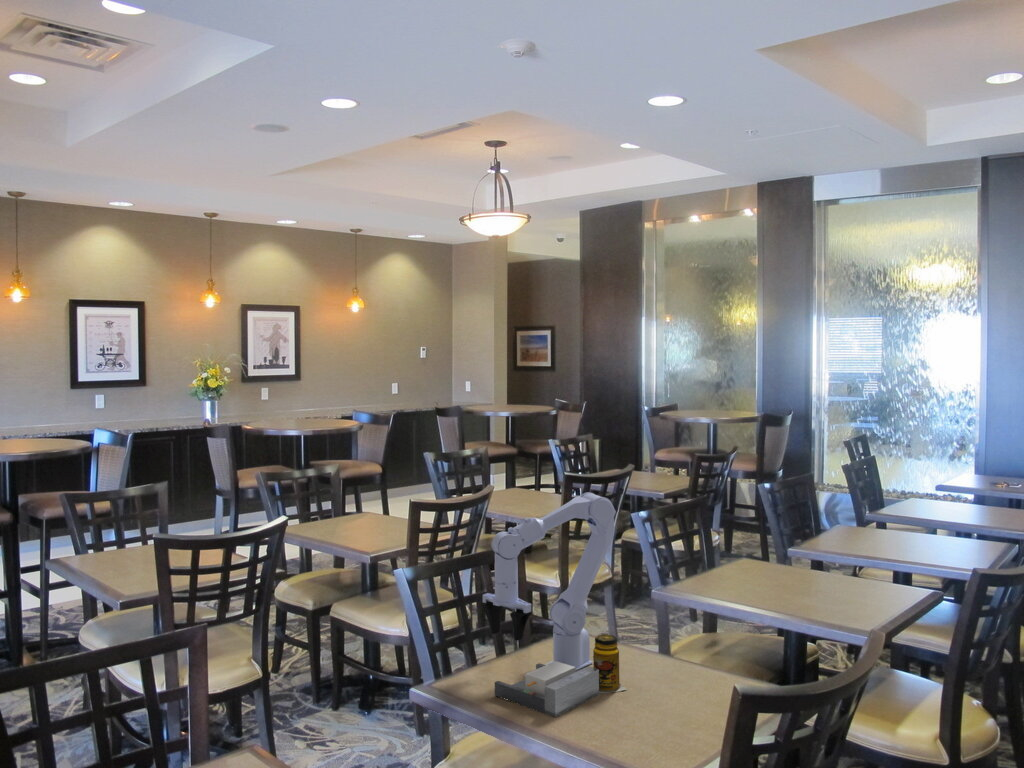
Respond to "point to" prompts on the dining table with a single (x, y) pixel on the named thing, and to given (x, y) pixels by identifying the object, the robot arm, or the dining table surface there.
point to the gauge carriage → (547, 676)
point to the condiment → (607, 663)
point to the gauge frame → (554, 692)
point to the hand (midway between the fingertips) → (506, 636)
